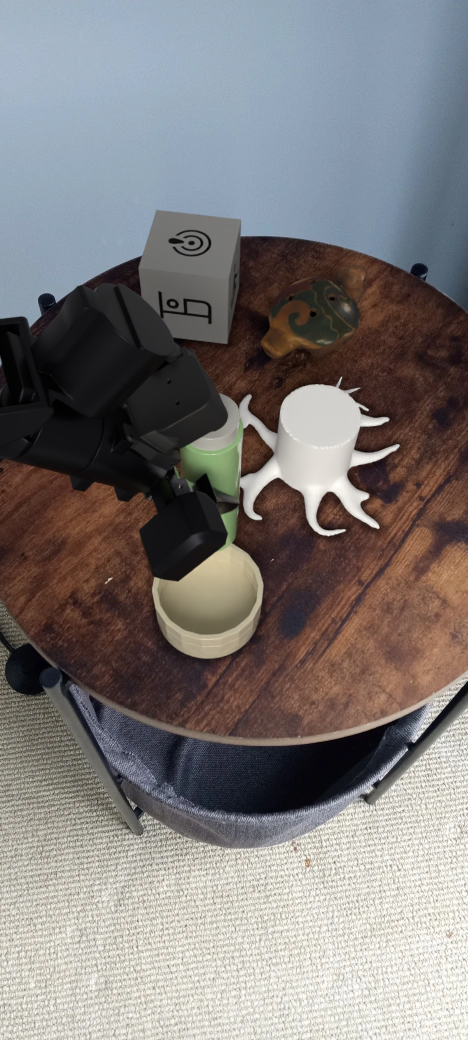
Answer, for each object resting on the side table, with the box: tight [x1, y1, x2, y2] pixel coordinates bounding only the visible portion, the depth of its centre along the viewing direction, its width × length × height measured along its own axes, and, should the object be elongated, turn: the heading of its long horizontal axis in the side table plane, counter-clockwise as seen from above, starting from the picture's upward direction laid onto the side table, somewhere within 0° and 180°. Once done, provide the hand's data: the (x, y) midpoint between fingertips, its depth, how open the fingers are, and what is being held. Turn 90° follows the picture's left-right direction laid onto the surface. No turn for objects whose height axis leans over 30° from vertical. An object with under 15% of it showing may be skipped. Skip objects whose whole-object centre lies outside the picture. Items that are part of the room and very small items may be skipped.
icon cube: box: [138, 209, 242, 345], centre depth 86 cm, size 10×10×10 cm
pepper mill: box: [178, 393, 244, 552], centre depth 60 cm, size 5×5×17 cm
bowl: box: [151, 543, 264, 659], centre depth 67 cm, size 10×10×5 cm
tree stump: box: [238, 376, 401, 537], centre depth 75 cm, size 20×19×8 cm
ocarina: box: [260, 264, 368, 360], centre depth 85 cm, size 10×15×8 cm, turn 135°
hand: (225, 480), depth 61 cm, fingers closed on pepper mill, 5 cm apart
